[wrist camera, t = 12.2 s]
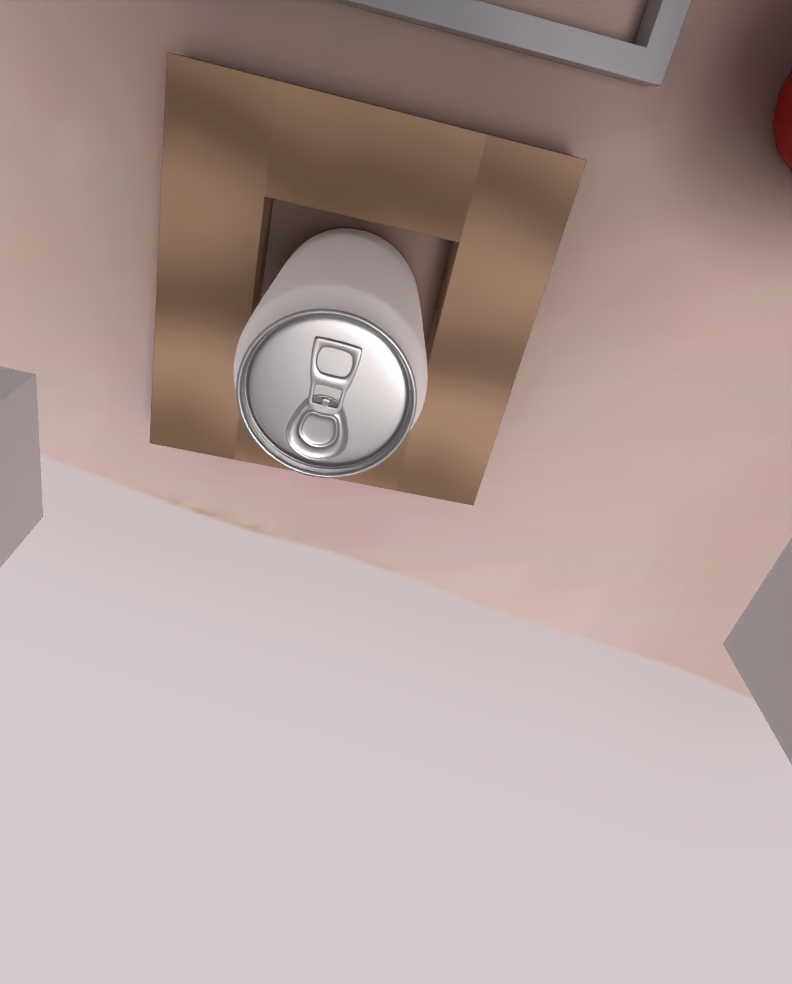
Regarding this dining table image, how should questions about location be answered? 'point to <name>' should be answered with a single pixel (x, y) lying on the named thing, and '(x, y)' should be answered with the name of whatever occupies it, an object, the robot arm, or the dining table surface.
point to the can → (334, 357)
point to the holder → (359, 194)
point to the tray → (551, 34)
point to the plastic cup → (784, 122)
